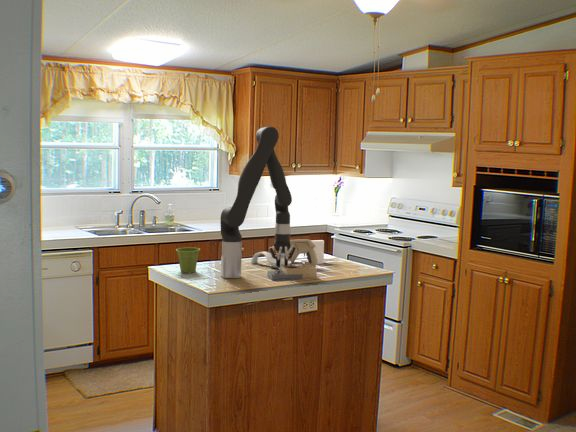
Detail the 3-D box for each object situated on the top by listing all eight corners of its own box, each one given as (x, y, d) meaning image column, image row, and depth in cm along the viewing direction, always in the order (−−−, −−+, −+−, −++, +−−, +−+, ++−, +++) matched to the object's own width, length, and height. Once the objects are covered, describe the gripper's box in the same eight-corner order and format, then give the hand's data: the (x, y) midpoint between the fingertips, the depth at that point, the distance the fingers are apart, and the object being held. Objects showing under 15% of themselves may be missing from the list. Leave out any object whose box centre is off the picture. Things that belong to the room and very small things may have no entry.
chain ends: (271, 280, 279) (272, 269, 279) (267, 276, 288) (267, 266, 287) (316, 278, 285) (316, 268, 285) (310, 274, 294) (310, 264, 293)
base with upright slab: (319, 260, 333) (320, 239, 332) (326, 263, 325) (326, 241, 324) (304, 261, 330) (305, 239, 329) (311, 264, 322) (311, 242, 320)
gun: (318, 268, 311) (316, 239, 310) (315, 269, 308) (313, 240, 307) (278, 266, 323) (276, 239, 322) (275, 267, 320) (273, 240, 319)
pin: (279, 274, 294) (279, 253, 293) (277, 272, 298) (277, 252, 297) (286, 273, 295) (286, 253, 294) (284, 272, 299) (284, 252, 298)
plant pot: (190, 268, 303) (190, 246, 302) (204, 272, 294) (204, 249, 293) (170, 271, 295) (170, 248, 293) (184, 275, 286) (184, 252, 285)
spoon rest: (295, 267, 312) (296, 254, 311) (282, 271, 302) (282, 257, 302) (259, 262, 325) (260, 249, 325) (246, 265, 316) (246, 251, 315)
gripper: (270, 233, 289) (270, 268, 291) (298, 233, 292) (297, 268, 294) (266, 231, 296) (266, 266, 298) (294, 231, 300) (293, 265, 302)
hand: (281, 266), depth 296 cm, fingers closed on pin, 3 cm apart
